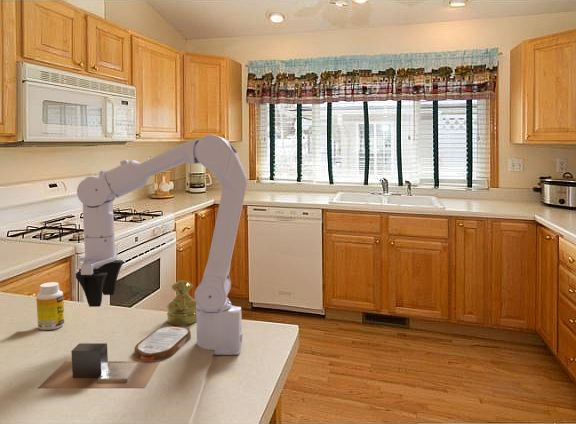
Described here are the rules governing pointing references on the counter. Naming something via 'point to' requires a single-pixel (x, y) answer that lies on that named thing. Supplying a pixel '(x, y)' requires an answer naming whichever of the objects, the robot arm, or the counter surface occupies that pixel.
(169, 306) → the green vase
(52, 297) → the supplement bottle
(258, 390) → the counter surface
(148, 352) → the tin
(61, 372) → the board
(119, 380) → the grey pillar on tile
